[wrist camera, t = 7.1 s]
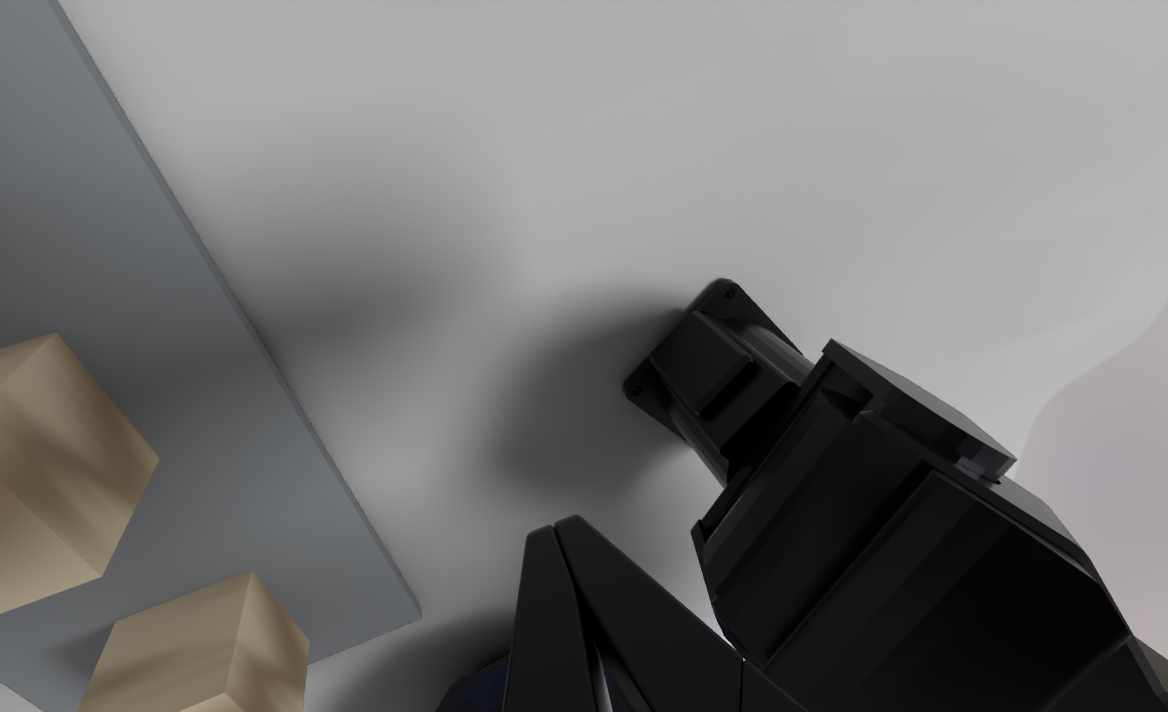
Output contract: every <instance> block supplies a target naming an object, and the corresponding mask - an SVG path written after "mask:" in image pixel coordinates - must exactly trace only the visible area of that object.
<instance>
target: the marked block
mask: <svg viewBox="0 0 1168 712" xmlns="http://www.w3.org/2000/svg"><path fill="white" fill-rule="evenodd" d="M309 642H310V640H309V639H308V638H307V637H306V635H305V634H304V633H303V632H302V631H301V629H300V628H299V627H298V626H297V624H296V623H295V622H294V621H293V620H292V618H291V617H290V616H289V615H288V614H287V612H286V611H285V610H284V609H283V607H282V606H281V605H280V604H279V603H278V601H277V600H276V599H275V598H274V597H273V595H272V594H271V593H270V592H269V591H268V589H267V588H266V587H265V586H264V584H263V583H262V582H261V581H260V580H259V578H258V577H257V576H256V575H255V574H254V572H253V571H252V570H250V571H248V572H245V573H243V574H240V575H237V576H235V577H232V578H229V579H227V580H224V581H221V582H219V583H216V584H213V585H211V586H208V587H205V588H203V589H200V590H198V591H195V592H192V593H190V594H187V595H184V596H182V597H179V598H176V599H174V600H171V601H168V602H166V603H163V604H160V605H158V606H155V607H153V608H150V609H147V610H145V611H142V612H139V613H137V614H134V615H131V616H129V617H126V618H123V619H121V620H118V621H116V622H115V624H114V626H113V628H112V631H111V633H110V635H109V638H108V640H107V642H106V645H105V647H104V649H103V652H102V654H101V656H100V659H99V661H98V663H97V666H96V668H95V670H94V673H93V675H92V677H91V679H90V682H89V684H88V686H87V689H86V691H85V693H84V696H83V698H82V700H81V703H80V705H79V707H78V710H77V712H303V702H304V692H305V682H306V672H307V662H308V652H309Z"/></svg>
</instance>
